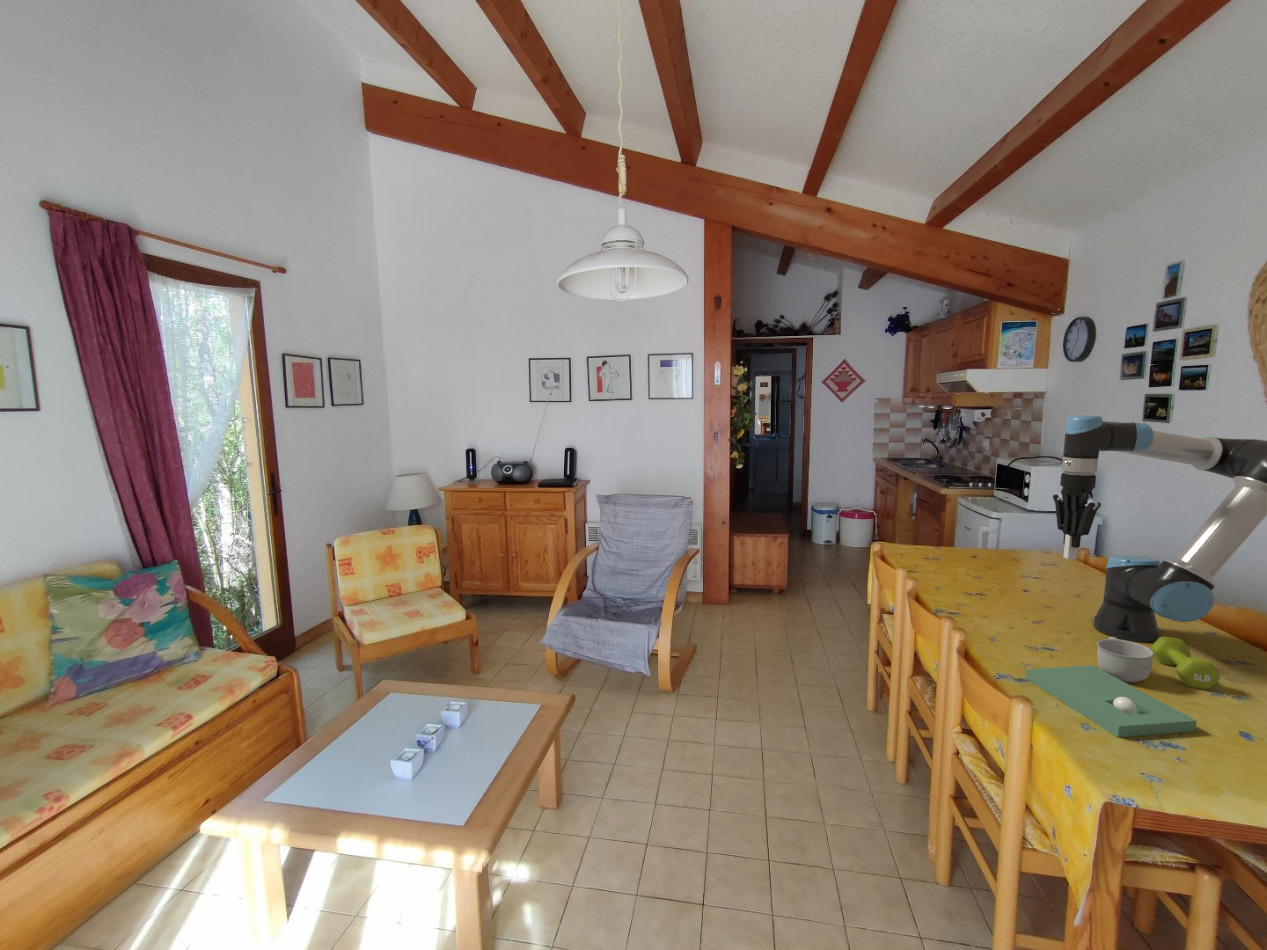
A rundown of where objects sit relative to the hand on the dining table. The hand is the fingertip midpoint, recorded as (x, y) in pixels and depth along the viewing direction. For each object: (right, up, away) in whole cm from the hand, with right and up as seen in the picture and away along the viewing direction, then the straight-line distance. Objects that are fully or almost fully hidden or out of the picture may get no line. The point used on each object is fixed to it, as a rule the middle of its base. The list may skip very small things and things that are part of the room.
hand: (1070, 557), depth 158 cm
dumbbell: (+20, -28, -11) cm, 37 cm away
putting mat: (-11, -30, -24) cm, 40 cm away
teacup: (+5, -28, -11) cm, 31 cm away
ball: (-10, -29, -30) cm, 43 cm away
